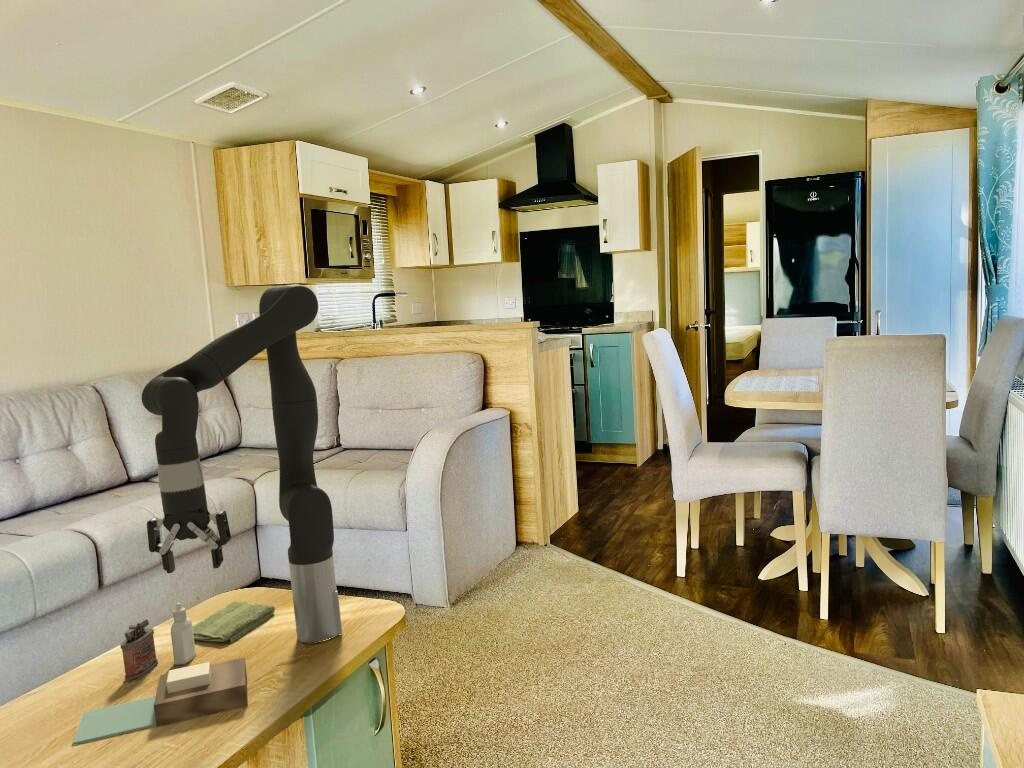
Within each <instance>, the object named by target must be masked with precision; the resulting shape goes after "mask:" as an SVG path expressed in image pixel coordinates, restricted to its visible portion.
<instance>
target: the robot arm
mask: <svg viewBox="0 0 1024 768" xmlns="http://www.w3.org/2000/svg"><path fill="white" fill-rule="evenodd" d="M261 294H262V295H261V296H260V300H259V305H258V311H259V316H257V317H255V318H254V319H252V320H251V321H249V322H246V323H245V324H243V325H241V326H239V327H237V328H234V329H232V330H230V331H229V332H227V333H225V334H223V335H220V336H218V337H217V338H215V339H214V340H213V341H211V342H210V343H208V344H206V345H205V346H204V347H203V348H201V349H200V350H198V351H196V353H194V354H193V355H192V356H190V357H189V358H188V359H186V360H185V361H182V362H181V363H178V364H176V365H174V366H172V367H171V368H169V369H167V370H165V371H163V372H161V373H158V375H156V376H154V377H153V378H152V379H151V380H150V381H148V382H147V384H146V385H145V386H144V388H143V390H142V392H141V403H142V405H143V407H144V409H145V410H146V411H148V412H149V413H151V414H153V415H156V416H161V431H159V432H158V433H156V435H155V437H154V446H155V454H156V461H157V467H158V468H157V477H158V488H159V492H160V497H161V499H160V500H161V504H162V513H163V518H158V516H157V517H156V516H154V517H152V518H151V519H149V520H147V522H146V529H147V542H148V551H149V552H150V553H158V554H159V555H160V556H161V561H162V569H163V570H164V571H165V572H166V573H167V574H173V573H174V571H175V570H176V565H175V563H176V562H175V557H174V551H173V550H171V549H172V547H173V545H175V542H176V541H177V540H178V541H185V540H187V539H188V540H197V538H199V539H200V540H201V541H202V542H203V543H206V544H207V545H208V546H209V547H210V548H211V549H210V553H211V560H212V561H211V563H212V568H213V569H219V568H220V567H221V565H222V564H223V563H224V553H223V546H225V545H227V544H228V543H229V542H230V541H231V540H232V535H231V531H230V530H231V529H230V525H229V519H228V515H227V511H226V510H224V509H223V510H220V511H219V512H214V513H210V511H209V509H208V502H207V501H208V500H207V493H206V487H205V477H204V472H203V467H202V464H201V459H200V455H199V447H198V441H197V437H196V436H197V428H198V421H199V420H198V419H199V412H200V411H199V408H200V405H199V397H198V393H200V392H201V391H202V392H203V391H205V390H206V391H207V390H210V389H212V388H215V387H216V386H217V385H219V384H220V383H221V382H223V381H224V380H226V379H227V378H228V377H229V376H231V375H232V374H233V373H234V372H236V371H237V370H238V369H240V368H241V367H242V366H244V365H245V364H247V363H248V362H249V361H250V360H252V359H253V358H255V357H256V356H257V355H259V354H261V353H262V352H263V351H265V350H266V356H267V366H268V375H269V382H270V395H271V396H270V397H271V398H270V399H271V407H272V408H271V409H272V417H273V418H272V419H273V426H274V435H275V443H276V451H277V455H278V460H279V461H278V465H279V484H278V485H279V488H278V489H279V491H278V493H279V494H278V505H279V510H280V513H281V515H282V517H283V518H284V519H285V520H286V521H287V522H288V527H289V529H288V530H289V537H290V538H289V539H290V545H289V546H288V549H287V557H288V567H289V568H288V569H289V575H290V577H289V578H290V586H291V594H292V603H293V612H294V623H295V632H296V638H297V639H296V640H297V641H299V642H300V643H302V642H305V643H304V644H313V643H312V642H319V641H323V640H326V639H329V638H332V637H334V636H336V635H339V634H342V635H343V626H342V620H341V619H342V618H341V610H340V609H341V608H340V600H339V593H338V592H339V591H338V589H337V582H336V580H337V579H336V573H335V572H336V571H335V563H334V554H333V553H334V551H333V547H334V544H335V543H334V542H335V531H334V517H333V508H332V507H333V506H332V502H331V498H330V496H329V495H328V494H327V492H326V491H325V490H323V489H321V488H320V487H319V486H318V484H317V478H316V473H315V465H314V454H315V453H314V452H315V445H316V442H317V441H316V439H317V436H318V435H317V434H318V428H319V409H318V408H319V407H318V397H317V391H316V387H315V384H314V382H313V380H312V377H311V376H310V374H309V372H308V370H307V369H306V366H305V365H304V363H303V360H302V358H301V355H300V353H299V349H298V347H299V346H298V340H297V332H298V331H300V330H302V329H304V328H306V327H307V326H309V325H310V324H312V323H313V321H315V318H316V317H317V316H318V315H317V314H318V311H319V301H318V298H317V295H316V294H315V292H314V291H313V290H312V289H311V288H309V287H308V286H306V285H304V284H303V285H302V284H287V285H286V284H285V285H275V286H271V287H269V288H267V289H265V290H264V292H262V293H261ZM211 521H212V522H213V524H214V525H215V526H216V527H217V531H218V535H219V536H218V535H217V534H216V532H215V530H213V528H211V526H209V524H210V523H211ZM163 527H164V528H165V529H166V530H167V531H168V535H166V537H165V539H164V540H163V543H161V541H162V539H161V531H160V530H162V528H163ZM339 636H340V635H339ZM336 637H337V636H336ZM334 638H335V637H334Z"/></svg>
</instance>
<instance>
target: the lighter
mask: <svg viewBox="0 0 1024 768" xmlns="http://www.w3.org/2000/svg"><path fill="white" fill-rule="evenodd" d="M149 621H150V620H149V619H148V618H144V619H142V620H141V621H139V622H137V624H131V625H129V627H128V629H127V630H125V631H124V637H125V640H123V641H122V642H121V643H120V644H119V645H120V649H121V653H122V657H123V658H122V659H123V666H124V673H125V675H124V681H125V682H126V683H132V682H133V683H134V682H136V681H138V680H139V679H142V678H143V677H145V676H146V675H148V674H149V673H150V672H152V671H153V670H154V669H156V667H157V666H158V665H159V660H158V659H157V653H156V652H157V651H156V646H155V639H154V634H155V630H154V628H153V627H151V628H150V627H148V626H149V625H150V622H149ZM146 627H148V628H146ZM157 664H158V665H157ZM152 669H153V670H152ZM151 670H152V671H151Z"/></svg>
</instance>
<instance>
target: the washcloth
mask: <svg viewBox="0 0 1024 768" xmlns="http://www.w3.org/2000/svg"><path fill="white" fill-rule="evenodd" d="M275 610H276V608H275V606H274V605H270V604H259V603H254V604H253V603H248V602H246V601H239V600H235V601H231V602H229V603H228V604H227V605H226V606H225V607H223V608H221V609H219V610H217V611H215V612H214V613H213V614H210V615H209V616H208V617H207V618H205V619H203V620H201V621H199V622H197V623H195V624H194V625H192V627H193V635H194V641H203V642H221V643H228V644H229V643H231V644H232V643H235V642H236V641H237V640H238V639H240V638H242V637H243V636H244V634H245V635H246V634H247V633H249V632H250V631H252V630H254V629H255V628H256V626H257V625H258V626H259V625H261V624H263V623H264V622H265V621H266V620H268V619H269V618H271V617H273V615H274V613H275ZM270 616H271V617H270ZM258 626H257V627H258ZM254 627H255V628H254Z"/></svg>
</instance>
